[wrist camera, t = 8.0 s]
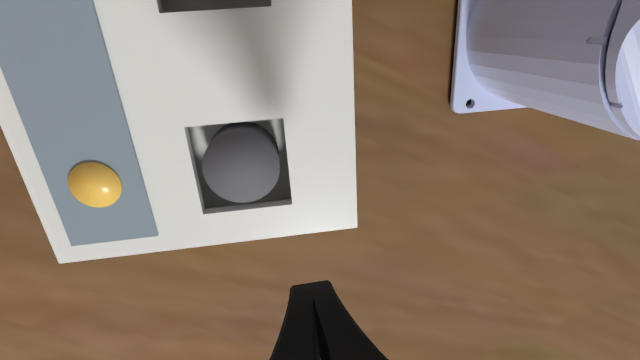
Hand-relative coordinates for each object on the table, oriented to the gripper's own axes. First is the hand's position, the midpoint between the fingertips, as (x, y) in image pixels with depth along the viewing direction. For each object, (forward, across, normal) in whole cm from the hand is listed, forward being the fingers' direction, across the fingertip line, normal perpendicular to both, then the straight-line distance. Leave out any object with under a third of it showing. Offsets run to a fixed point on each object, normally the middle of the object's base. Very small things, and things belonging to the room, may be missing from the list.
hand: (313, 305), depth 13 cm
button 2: (+8, +2, -3) cm, 9 cm away
